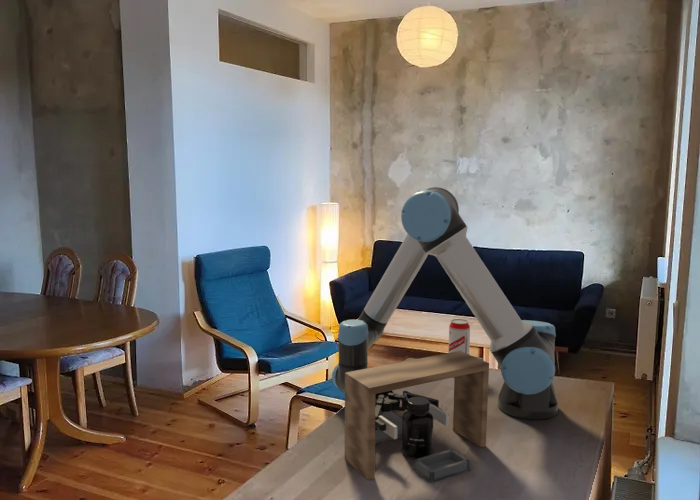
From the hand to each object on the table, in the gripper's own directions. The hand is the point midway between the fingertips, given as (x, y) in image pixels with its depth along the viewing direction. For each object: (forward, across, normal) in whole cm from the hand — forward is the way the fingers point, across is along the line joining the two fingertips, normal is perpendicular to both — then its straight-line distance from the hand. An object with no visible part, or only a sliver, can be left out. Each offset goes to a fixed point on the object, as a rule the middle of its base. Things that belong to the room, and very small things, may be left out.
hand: (422, 426), depth 135 cm
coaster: (-16, 0, -7) cm, 18 cm away
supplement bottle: (-2, 0, -7) cm, 8 cm away
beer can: (-38, -40, -7) cm, 56 cm away
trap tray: (+7, 0, -7) cm, 10 cm away
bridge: (-2, 0, -7) cm, 7 cm away
